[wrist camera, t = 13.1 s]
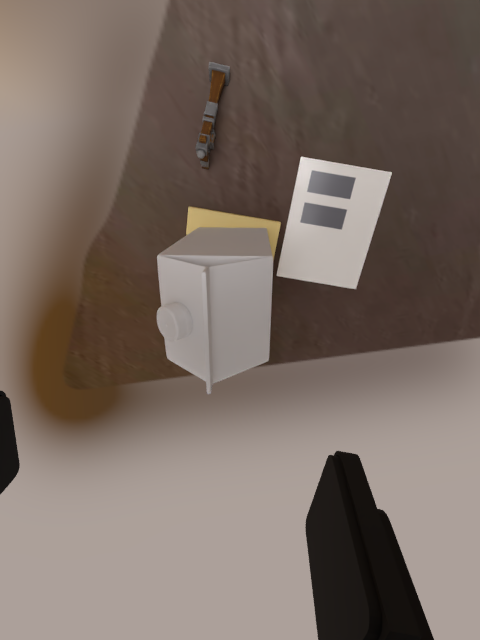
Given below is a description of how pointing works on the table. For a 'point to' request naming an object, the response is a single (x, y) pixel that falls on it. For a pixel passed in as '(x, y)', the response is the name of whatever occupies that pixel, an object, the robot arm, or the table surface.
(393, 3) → the table surface
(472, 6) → the table surface
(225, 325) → the milk carton
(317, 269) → the tile
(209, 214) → the coaster
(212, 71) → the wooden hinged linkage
